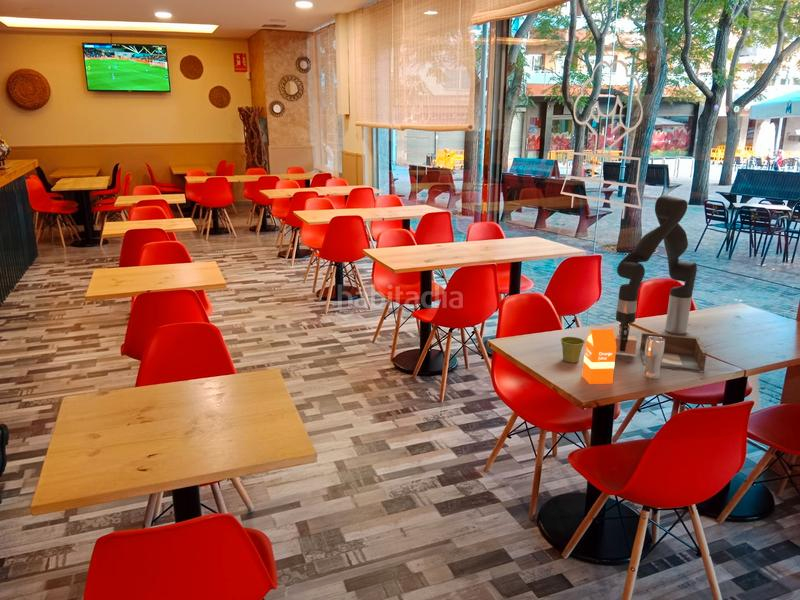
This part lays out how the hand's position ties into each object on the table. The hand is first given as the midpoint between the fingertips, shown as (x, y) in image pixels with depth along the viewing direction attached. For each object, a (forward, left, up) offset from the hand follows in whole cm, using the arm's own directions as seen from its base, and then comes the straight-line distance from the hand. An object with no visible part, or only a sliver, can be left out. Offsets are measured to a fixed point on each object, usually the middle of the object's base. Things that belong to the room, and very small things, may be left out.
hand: (622, 348), depth 255 cm
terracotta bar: (0, 0, -1) cm, 1 cm away
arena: (0, +19, -3) cm, 19 cm away
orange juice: (+29, -10, -3) cm, 31 cm away
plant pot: (+12, -20, -3) cm, 24 cm away
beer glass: (+19, +10, -3) cm, 22 cm away
